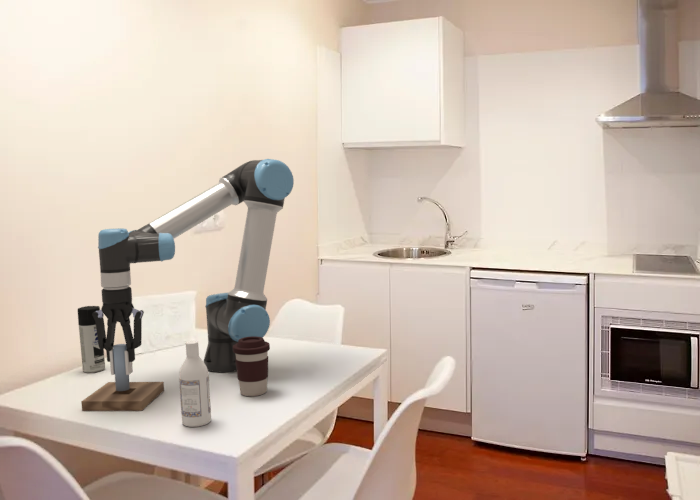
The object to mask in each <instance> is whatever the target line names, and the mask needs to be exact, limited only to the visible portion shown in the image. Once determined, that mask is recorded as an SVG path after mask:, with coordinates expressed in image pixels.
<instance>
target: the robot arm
mask: <svg viewBox="0 0 700 500" xmlns="http://www.w3.org/2000/svg"><path fill="white" fill-rule="evenodd" d="M294 181H295V180H294V175H293V172H292V171H291V169H290V167H289V166H288V165H287V164H286V163H284V162H283V161H282V160H279V159H273V158H265V159H253V160H250V161H246V162H245V163H242V164H241V165H239V166H238V167H236V168H234V169H233V170H232V171H229V172H228V173H227V174H225V175H224V176H222V177H220V178H219V181H218V183H216V184H215V185H213V186H211V187H209V188H208V189H206V190H204V191H203V192H201V193H199V194H197V195H195V196H193V197H192V198H191V199H189V200H187V201H185V202H183V203H182V204H180V205H178V206H176V207H175V208H173V209H171V210H170V211H169V210H168V212H166V213H164V214H162V215H161V216H159V217H158V218H155V219H154V220H151V221H150V222H148V223H147V224H146V225H143V226H142V227H139V229H134V230H130V231H128V229H127V228H105V229H100V231H99V232H98V235H97V236H98V239H97V240H98V246H97V249H98V257H99V271H100V286H101V288H102V289H101V300H102V301H101V302H102V306H101V307H100V310H98V311H96V312H93V313H92V316H93V318H94V319H95V323H96V330H97V338H98V345H99V348H103V349H104V350H105V351H106V353H105V354H106V361H107V363H109V365H110V375H111V376H115V370H114V354H113V346H114V345H115V339H116V338H115V337H116V336H115V335H116V329H117V328H116V326H117V324H118V323H119V324H120V327H121V328H122V332H123V337H124V341H125V344H126V346H127V349H126V350H125V367H126V375H129V376H130V375H131V374H132V373H133V372H134V371H133V362H135V360H136V352H135V351H136V349H137V348H139V347H141V345H142V327H143V326H142V322H143V321H142V319H143V316H144V313H145V311H144V310H143V309H141V310H139V309H137V308H135V306H134V304H133V293H132V287H131V285H132V276H131V264H136V263H137V264H138V263H151V262H164V261H171V260H172V259H174V257H175V253H176V241H175V239H176V238H177V237H179V236H180V235H183V234H184V233H186V232H188V231H189V230H191V229H193V228H195V227H196V226H198V225H200V224H202V223H203V222H204V221H206V220H208V219H210V218H211V217H213V216H215V215H216V214H218V213H220V212H222V211H223V210H225V209H226V208H228V207H230V206H238V205H240V204H242V203H243V202H244V204H245V205H246V207H247V212H246V218H245V225H244V230H243V235H242V241H241V246H240V247H241V248H240V252H239V257H238V258H239V259H238V265H237V270H236V271H237V272H236V278H235V284H234V287H233V289H232V290H230V291H229V292H222V293H214V294H211V295H208V296H207V297H206V298H205V311H206V312H205V313H206V324H207V326H206V328H207V330H206V331H207V346H206V350H205V352H204V353H205V354H204V359H203V362H204V363H205V365H206V367H207V369H208V372H215V373H229V372H230V373H231V372H237V369H236V361H235V359H236V354H235V353H234V352H233V345H235V344H236V343H238V340H239V339H241V338H244V337H251V336H258V337H262V338H263V339H264V337H265V336H266V334H267V333H268V331H269V328H270V324H271V318H270V315H269V313H268V311H267V310H266V309H267V305H268V304H267V303H268V298H267V296H266V295H265V294H264V290H265V285H266V279H267V272H268V266H269V262H270V255H271V249H272V244H273V236H274V232H275V227H276V220H277V214H278V213H279V212H280V211H282V210H283V209H284V204H285V200H286V198H287V197H288V196H289V195H290V194H291V192H292V190H293V187H294ZM131 315H132V317H133V331H132V326H131V319H130V317H131ZM104 316H105V317H106V318H107V321H106V325H107V330H106V328H105V327H106V326H105V320H104Z"/></svg>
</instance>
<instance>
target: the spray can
mask: <svg viewBox="0 0 700 500" xmlns="http://www.w3.org/2000/svg"><path fill="white" fill-rule="evenodd" d="M98 310H101V307H100V306H99V305H85V306H81V307H78V308H77V319H78V320H77V321H78V322H77V323H78V324H77V325H78V332H79V341H80V342H79V343H80V354H81V355H80V356H81V367H82V371H83V372H84V373H85V374H87V373H88V374H89V373H90V374H91V373H92V374H94V373H99V372H102V371H104V370H105V369H106V362H105V361H106V360H105V351H104V350H105V349H103V348H99V345H98V338H97V330H96V323H95V319H94V318H93V316H92V313H93V312H96V311H98Z"/></svg>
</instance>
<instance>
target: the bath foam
mask: <svg viewBox="0 0 700 500" xmlns="http://www.w3.org/2000/svg"><path fill="white" fill-rule="evenodd" d="M199 350H200V349H199V341H197V340H188V341H185V353H186V354H185V355H186V357H185V359H184V361H183V363H182V364H181V367H180V369H179V377H178V382H179V396H180V397H179V399H180V410H181V411H180V412H181V413H180V414H181V423H182V425H184V426H186V427H189V428H196V427H202V426H205V425H208V424H210V422H211V420H212V412H211V411H212V409H211V408H212V405H211V393H210V376H209V371H208V369H207V367H206V365H205V363H204V360H203V359H202V357H200V353H199V352H200V351H199Z"/></svg>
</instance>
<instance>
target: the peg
mask: <svg viewBox="0 0 700 500" xmlns="http://www.w3.org/2000/svg"><path fill="white" fill-rule="evenodd" d="M126 349H127V346H126V343H118V344H114V346H113V354H114V370H115V374H114V382H115V386H116V391H126V390H129V389H130V382H131V381H130V374H129V375H126V367H125V350H126Z"/></svg>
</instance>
